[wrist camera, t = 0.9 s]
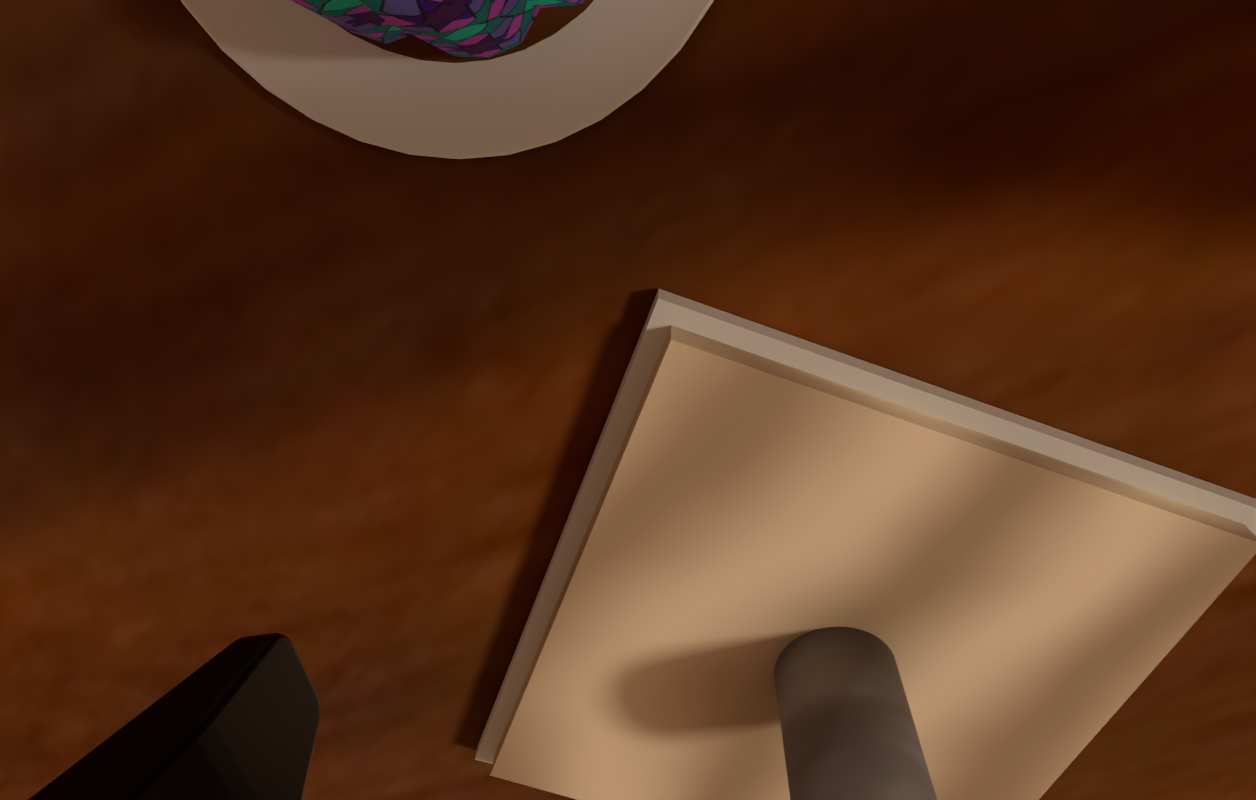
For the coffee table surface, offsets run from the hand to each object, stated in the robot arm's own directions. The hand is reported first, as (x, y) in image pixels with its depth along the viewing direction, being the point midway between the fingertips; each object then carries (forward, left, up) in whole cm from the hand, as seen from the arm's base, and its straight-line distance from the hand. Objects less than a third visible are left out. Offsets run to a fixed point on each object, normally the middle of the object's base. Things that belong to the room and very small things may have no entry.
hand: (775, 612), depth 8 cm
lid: (-7, +10, -12) cm, 18 cm away
